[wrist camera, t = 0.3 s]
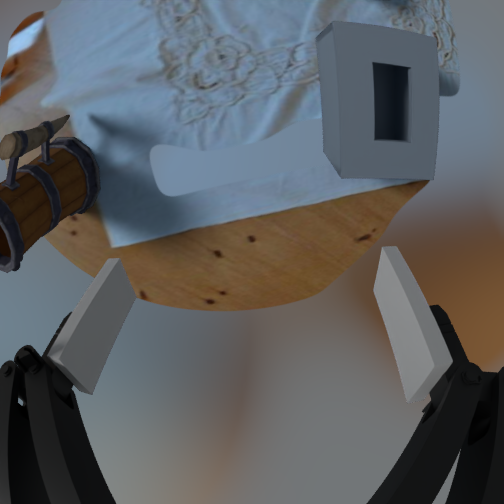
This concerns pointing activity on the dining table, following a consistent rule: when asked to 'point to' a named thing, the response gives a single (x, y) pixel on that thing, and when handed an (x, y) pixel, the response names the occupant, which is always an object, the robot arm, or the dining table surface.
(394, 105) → the coin box
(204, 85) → the dining table surface
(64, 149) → the mug
